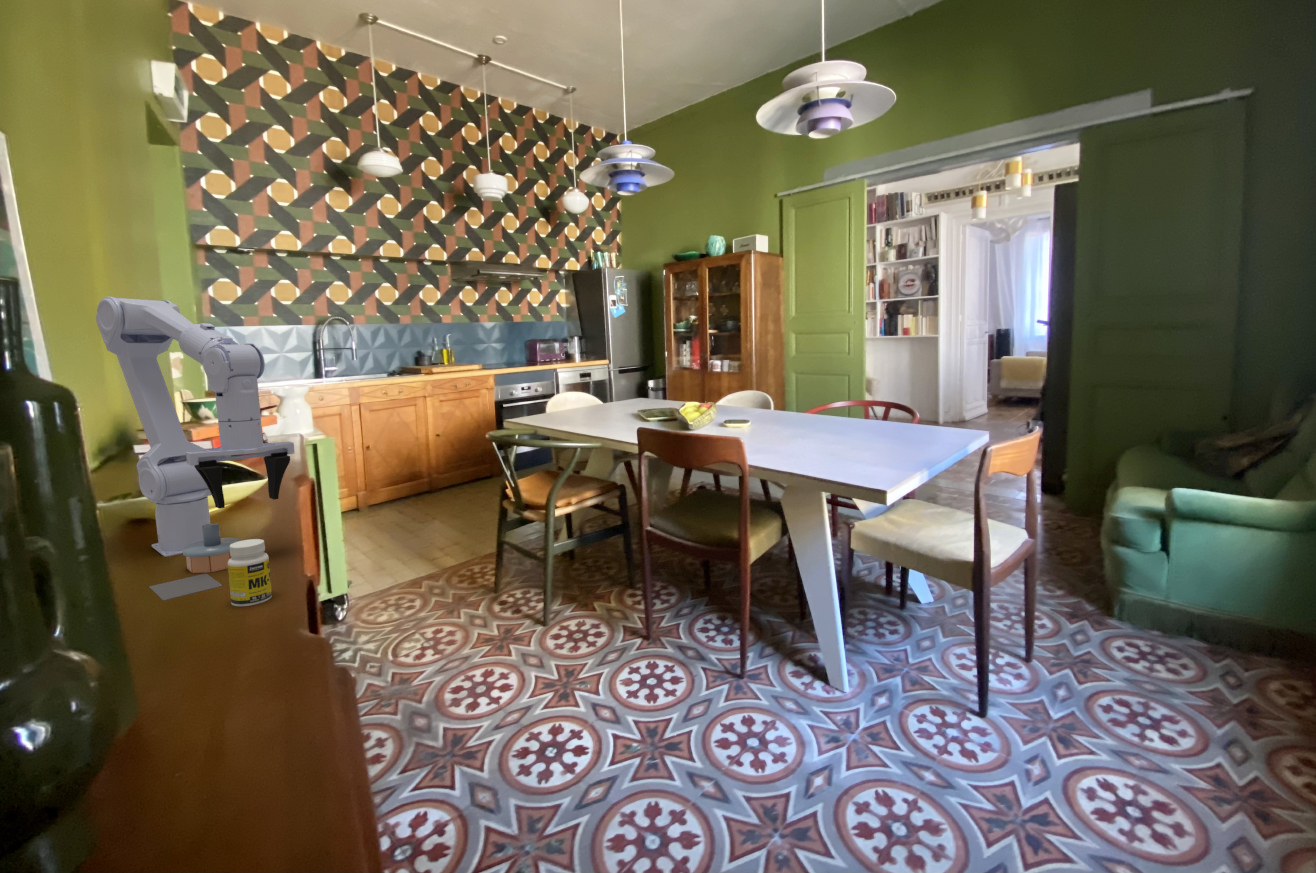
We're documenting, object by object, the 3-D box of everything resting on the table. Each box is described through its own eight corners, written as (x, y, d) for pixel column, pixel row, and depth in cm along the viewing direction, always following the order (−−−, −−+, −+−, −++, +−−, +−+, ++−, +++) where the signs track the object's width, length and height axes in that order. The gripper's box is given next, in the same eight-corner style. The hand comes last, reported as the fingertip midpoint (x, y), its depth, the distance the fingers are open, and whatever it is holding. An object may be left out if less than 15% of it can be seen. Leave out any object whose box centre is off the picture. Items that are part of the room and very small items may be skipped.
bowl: (184, 568, 99) (181, 550, 98) (232, 557, 104) (230, 540, 103) (196, 577, 95) (193, 558, 94) (245, 566, 100) (243, 548, 99)
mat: (149, 589, 90) (148, 586, 90) (206, 575, 96) (206, 573, 95) (163, 603, 85) (163, 600, 85) (223, 588, 90) (222, 585, 90)
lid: (178, 550, 99) (175, 525, 98) (234, 539, 104) (232, 516, 104) (189, 560, 93) (186, 535, 93) (247, 548, 99) (245, 524, 98)
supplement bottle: (252, 610, 83) (246, 549, 82) (222, 607, 84) (216, 547, 82) (280, 596, 87) (275, 538, 86) (252, 593, 88) (246, 536, 87)
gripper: (191, 425, 91) (201, 515, 93) (298, 417, 102) (305, 498, 104) (178, 422, 95) (188, 508, 97) (282, 415, 106) (289, 492, 108)
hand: (247, 502), depth 101 cm, fingers open, 7 cm apart
